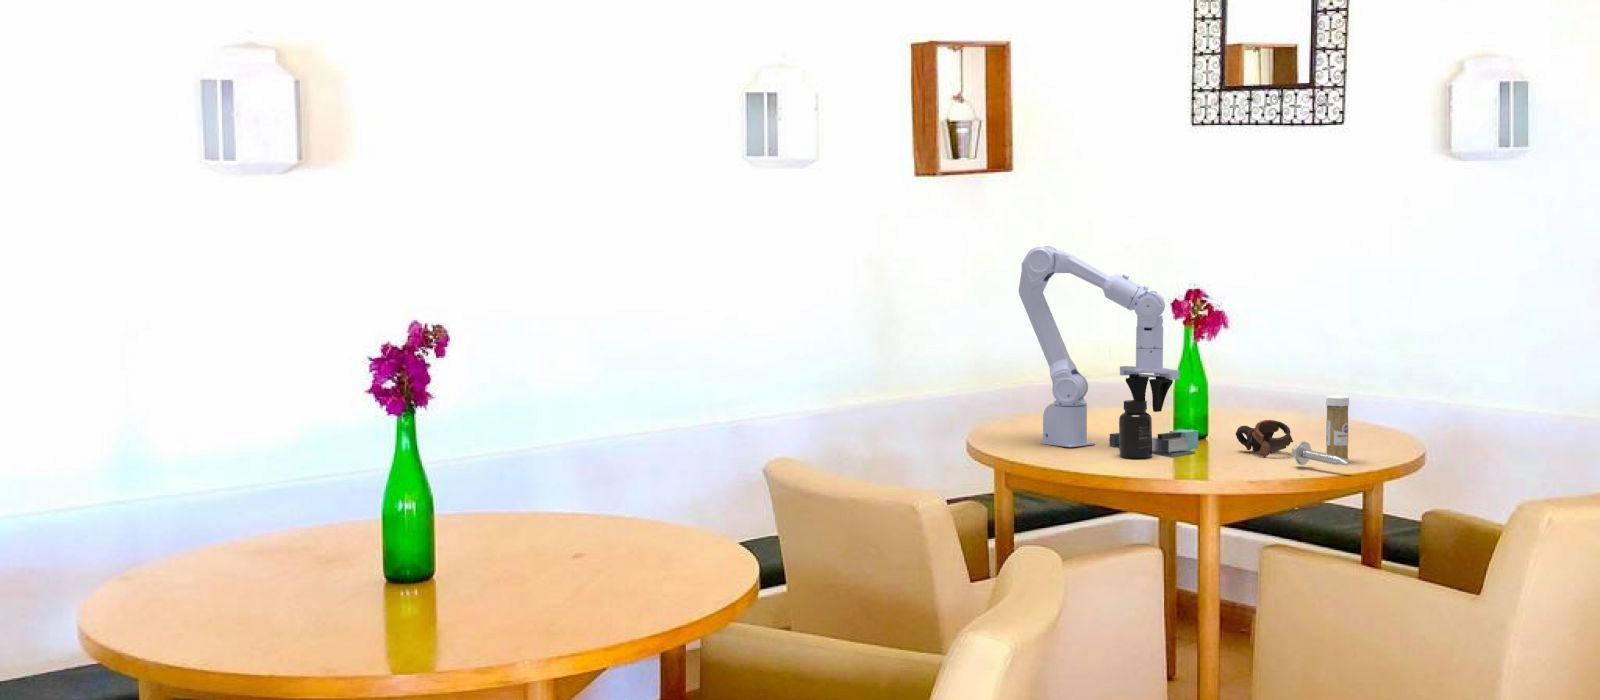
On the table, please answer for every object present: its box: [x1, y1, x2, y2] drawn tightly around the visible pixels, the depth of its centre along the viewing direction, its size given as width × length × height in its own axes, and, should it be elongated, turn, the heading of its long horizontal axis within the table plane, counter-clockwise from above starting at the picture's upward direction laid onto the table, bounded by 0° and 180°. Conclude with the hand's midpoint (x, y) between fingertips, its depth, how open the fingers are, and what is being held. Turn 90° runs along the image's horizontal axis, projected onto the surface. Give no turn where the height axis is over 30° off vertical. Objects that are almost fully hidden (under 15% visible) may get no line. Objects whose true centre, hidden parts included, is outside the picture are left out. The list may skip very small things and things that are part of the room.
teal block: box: [1169, 428, 1199, 451], centre depth 400 cm, size 4×5×4 cm
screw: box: [1291, 441, 1350, 466], centre depth 372 cm, size 13×5×5 cm, turn 37°
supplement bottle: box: [1118, 399, 1153, 460], centre depth 390 cm, size 7×7×12 cm
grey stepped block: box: [1152, 432, 1189, 452], centre depth 394 cm, size 5×6×4 cm
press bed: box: [1109, 432, 1196, 459], centre depth 398 cm, size 18×7×4 cm, turn 37°
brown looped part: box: [1235, 419, 1294, 458], centre depth 392 cm, size 12×9×8 cm
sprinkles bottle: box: [1325, 394, 1350, 460], centre depth 381 cm, size 5×5×13 cm
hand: (1148, 410), depth 399 cm, fingers open, 4 cm apart
